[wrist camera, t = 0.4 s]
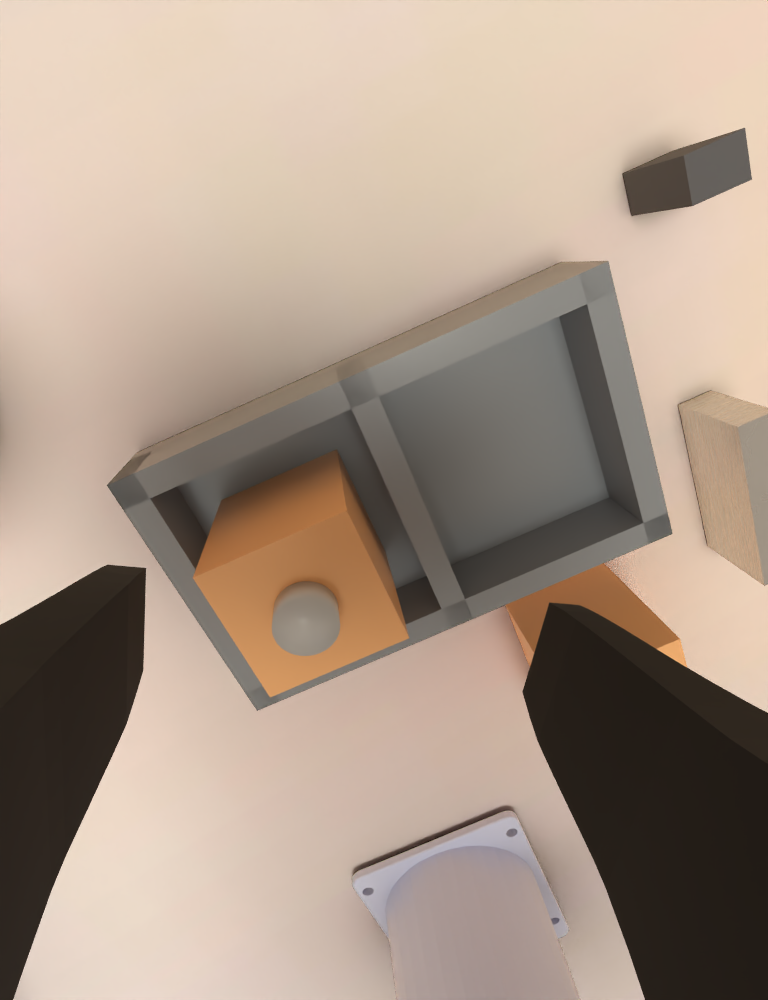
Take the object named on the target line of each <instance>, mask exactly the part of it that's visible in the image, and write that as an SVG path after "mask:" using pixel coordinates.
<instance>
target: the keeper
mask: <svg viewBox="0 0 768 1000" xmlns="http://www.w3.org/2000/svg"><path fill="white" fill-rule="evenodd" d="M623 177H624V182H625V186H626V191H627V196H628V200H629V205H630V210H631V214H632V216H633V215H639V214H646V213H652V212H658V211H664V210H671V209H677V208H683V207H689V206H694V205H696V204H698V203H700V202H703V201H705V200H707V199H709V198H711V197H714V196H716V195H718V194H720V193H723V192H725V191H727V190H729V189H732V188H734V187H736V186H738V185H740V184H743V183H745V182H747V181H749V180H752V177H751V170H750V162H749V155H748V147H747V140H746V132H745V128H743V129H740V130H737V131H733V132H730V133H727V134H724V135H721V136H718V137H715V138H711V139H708V140H705V141H702V142H699V143H696V144H693V145H690V146H686V147H683V148H680V149H677V150H674V151H672V152H669V153H667V154H665V155H663V156H661V157H658V158H656V159H654V160H652V161H650V162H647V163H645V164H643V165H641V166H639V167H636V168H634V169H632V170H630V171H627V172H625V173H623Z"/></svg>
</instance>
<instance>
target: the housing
mask: <svg viewBox="0 0 768 1000" xmlns="http://www.w3.org/2000/svg"><path fill="white" fill-rule="evenodd" d="M336 449H337V451H338V453H339V455H340V457H341V459H342V461H343V463H344V466H345V468H346V470H347V472H348V474H349V476H350V478H351V480H352V482H353V485H354V487H355V489H356V491H357V493H358V495H359V497H360V499H361V501H362V503H363V506H364V508H365V510H366V512H367V514H368V516H369V518H370V520H371V522H372V525H373V527H374V529H375V531H376V533H377V535H378V537H379V539H380V541H381V543H382V546H383V548H384V550H385V552H386V555H387V559H388V563H389V566H390V570H391V574H392V577H393V581H394V584H395V588H396V592H397V595H398V599H399V602H400V606H401V610H402V613H403V617H404V620H405V624H406V628H407V631H408V635H409V639H406V640H404V641H402V642H399V643H397V644H394V645H392V646H390V647H387V648H385V649H383V650H380V651H378V652H376V653H373V654H371V655H369V656H366V657H364V658H362V659H359V660H357V661H355V662H352V663H350V664H348V665H345V666H343V667H341V668H338V669H336V670H334V671H331V672H329V673H327V674H324V675H322V676H319V677H317V678H315V679H312V680H310V681H308V682H305V683H303V684H301V685H298V686H296V687H294V688H291V689H289V690H287V691H284V692H282V693H280V694H277V695H275V696H273V697H269V695H268V694H267V692H266V690H265V689H264V687H263V686H262V684H261V683H260V681H259V680H258V678H257V676H256V675H255V673H254V672H253V670H252V669H251V667H250V666H249V664H248V663H247V661H246V659H245V658H244V656H243V655H242V653H241V652H240V650H239V649H238V647H237V646H236V644H235V642H234V641H233V639H232V638H231V636H230V635H229V633H228V632H227V630H226V629H225V627H224V625H223V624H222V622H221V621H220V619H219V618H218V616H217V615H216V613H215V612H214V610H213V608H212V607H211V605H210V604H209V602H208V601H207V599H206V598H205V596H204V595H203V593H202V591H201V590H200V588H199V587H198V585H197V584H196V582H195V581H194V579H193V576H194V573H195V570H196V568H197V565H198V562H199V560H200V557H201V554H202V551H203V549H204V546H205V543H206V540H207V538H208V535H209V532H210V530H211V527H212V524H213V521H214V519H215V516H216V513H217V511H218V508H219V505H220V502H221V500H223V499H225V498H228V497H230V496H232V495H234V494H237V493H239V492H241V491H243V490H246V489H248V488H250V487H252V486H255V485H257V484H259V483H261V482H264V481H266V480H268V479H271V478H273V477H275V476H277V475H280V474H282V473H284V472H286V471H289V470H291V469H293V468H295V467H298V466H300V465H302V464H304V463H307V462H309V461H311V460H313V459H316V458H318V457H320V456H323V455H325V454H327V453H329V452H332V451H334V450H336ZM107 486H108V488H109V489H110V491H111V492H112V494H113V495H114V497H115V498H116V500H117V501H118V503H119V504H120V506H121V507H122V509H123V510H124V512H125V513H126V515H127V516H128V518H129V519H130V521H131V522H132V524H133V525H134V527H135V528H136V530H137V531H138V533H139V534H140V536H141V537H142V539H143V540H144V542H145V543H146V545H147V546H148V548H149V549H150V551H151V552H152V554H153V555H154V557H155V558H156V560H157V561H158V563H159V564H160V566H161V567H162V569H163V570H164V572H165V573H166V575H167V576H168V578H169V579H170V581H171V582H172V584H173V585H174V587H175V588H176V590H177V591H178V593H179V594H180V596H181V597H182V599H183V600H184V602H185V603H186V605H187V606H188V608H189V609H190V611H191V612H192V614H193V615H194V617H195V618H196V620H197V621H198V623H199V624H200V626H201V627H202V629H203V630H204V632H205V633H206V635H207V636H208V638H209V639H210V641H211V642H212V644H213V645H214V647H215V648H216V650H217V651H218V653H219V654H220V656H221V657H222V659H223V660H224V662H225V663H226V665H227V666H228V668H229V669H230V671H231V672H232V674H233V675H234V677H235V678H236V680H237V681H238V683H239V684H240V686H241V687H242V689H243V690H244V692H245V693H246V695H247V696H248V698H249V699H250V701H251V702H252V704H253V705H254V707H255V708H256V710H257V711H258V710H260V709H262V708H265V707H267V706H269V705H272V704H274V703H276V702H279V701H281V700H283V699H286V698H288V697H291V696H293V695H295V694H298V693H300V692H302V691H305V690H307V689H309V688H312V687H314V686H316V685H319V684H321V683H323V682H326V681H328V680H330V679H333V678H335V677H337V676H340V675H342V674H345V673H347V672H349V671H352V670H354V669H356V668H359V667H361V666H363V665H366V664H368V663H370V662H373V661H375V660H377V659H380V658H382V657H384V656H387V655H389V654H391V653H394V652H396V651H398V650H401V649H403V648H406V647H408V646H410V645H413V644H415V643H417V642H420V641H422V640H424V639H427V638H429V637H431V636H434V635H436V634H438V633H441V632H443V631H445V630H448V629H450V628H452V627H455V626H457V625H460V624H462V623H464V622H467V621H469V620H471V619H474V618H476V617H478V616H481V615H483V614H485V613H488V612H490V611H492V610H495V609H497V608H499V607H502V606H504V605H506V604H509V603H511V602H513V601H516V600H518V599H521V598H523V597H525V596H528V595H530V594H532V593H535V592H537V591H539V590H542V589H544V588H546V587H549V586H551V585H553V584H556V583H558V582H560V581H563V580H565V579H567V578H570V577H572V576H574V575H577V574H579V573H582V572H584V571H586V570H589V569H591V568H593V567H596V566H598V565H600V564H603V563H605V562H607V561H610V560H612V559H614V558H617V557H619V556H621V555H624V554H626V553H628V552H631V551H633V550H636V549H638V548H640V547H643V546H645V545H647V544H650V543H652V542H654V541H657V540H659V539H661V538H664V537H666V536H668V535H671V534H672V529H671V525H670V521H669V517H668V512H667V508H666V504H665V500H664V496H663V491H662V487H661V483H660V479H659V474H658V470H657V466H656V462H655V457H654V453H653V449H652V445H651V440H650V436H649V432H648V428H647V424H646V419H645V415H644V411H643V407H642V402H641V398H640V394H639V390H638V385H637V381H636V377H635V373H634V368H633V364H632V360H631V356H630V351H629V347H628V343H627V339H626V335H625V330H624V326H623V322H622V318H621V313H620V309H619V305H618V301H617V296H616V292H615V288H614V284H613V279H612V275H611V271H610V267H609V262H608V261H590V262H561V263H558V264H556V265H554V266H552V267H549V268H547V269H545V270H543V271H540V272H538V273H536V274H534V275H532V276H529V277H527V278H525V279H523V280H520V281H518V282H516V283H514V284H511V285H509V286H507V287H505V288H503V289H500V290H498V291H496V292H494V293H491V294H489V295H487V296H485V297H483V298H480V299H478V300H476V301H474V302H471V303H469V304H467V305H465V306H462V307H460V308H458V309H456V310H454V311H451V312H449V313H447V314H445V315H442V316H440V317H438V318H436V319H433V320H431V321H429V322H427V323H425V324H422V325H420V326H418V327H416V328H413V329H411V330H409V331H407V332H405V333H402V334H400V335H398V336H396V337H393V338H391V339H389V340H387V341H384V342H382V343H380V344H378V345H376V346H373V347H371V348H369V349H367V350H364V351H362V352H360V353H358V354H355V355H353V356H351V357H349V358H347V359H344V360H342V361H340V362H338V363H335V364H333V365H331V366H329V367H327V368H324V369H322V370H320V371H318V372H315V373H313V374H311V375H309V376H306V377H304V378H302V379H300V380H298V381H295V382H293V383H291V384H289V385H286V386H284V387H282V388H280V389H277V390H275V391H273V392H271V393H269V394H266V395H264V396H262V397H260V398H257V399H255V400H253V401H251V402H249V403H246V404H244V405H242V406H240V407H237V408H235V409H233V410H231V411H228V412H226V413H224V414H222V415H220V416H217V417H215V418H213V419H211V420H208V421H206V422H204V423H202V424H200V425H197V426H195V427H193V428H191V429H188V430H186V431H184V432H182V433H179V434H177V435H175V436H173V437H171V438H168V439H166V440H164V441H162V442H159V443H157V444H155V445H153V446H150V447H148V448H146V449H144V450H142V451H139V452H137V453H136V454H135V455H134V456H133V457H132V459H131V460H130V461H129V462H128V463H127V464H126V465H125V466H124V467H123V468H122V469H121V471H120V472H119V473H118V474H117V475H116V476H115V477H114V478H113V479H112V480H111V481H110V483H109V484H108V485H107Z"/></svg>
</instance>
